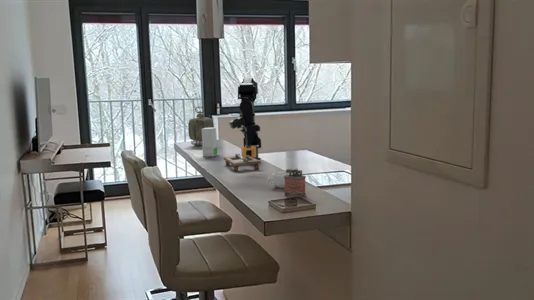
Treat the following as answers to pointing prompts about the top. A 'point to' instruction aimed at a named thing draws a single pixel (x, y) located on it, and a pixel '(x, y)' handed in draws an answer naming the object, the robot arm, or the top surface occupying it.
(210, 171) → the top surface
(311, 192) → the top surface
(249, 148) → the yellow block
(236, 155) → the silver metal rod
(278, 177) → the teacup
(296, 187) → the lighter
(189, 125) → the tabletop clock
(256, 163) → the wooden frame with rod
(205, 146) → the skincare box
